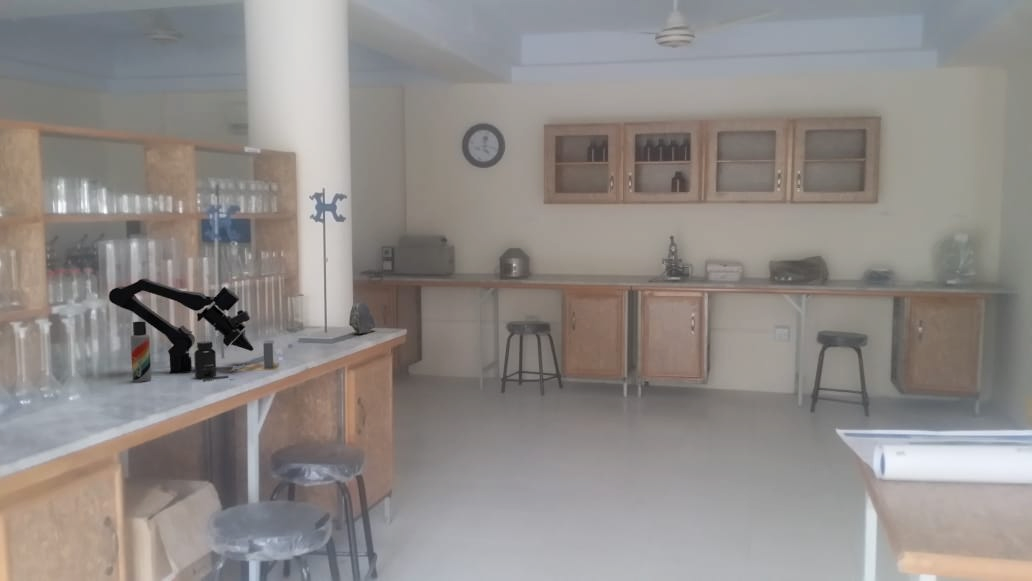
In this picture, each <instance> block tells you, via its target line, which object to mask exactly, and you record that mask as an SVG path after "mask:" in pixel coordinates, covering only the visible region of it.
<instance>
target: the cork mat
mask: <svg viewBox="0 0 1032 581" xmlns="http://www.w3.org/2000/svg"><path fill="white" fill-rule="evenodd" d="M250 364H251V365H247V366H245V367H243V368H240V369H235V370H231V369H229V372H230V373H231V372H247V371H248V372H249V371H250V372H252V371H253V372H254V371H274V370H275V371H276V370H278V368H279V365H280V362H275V365H274V367H273V368H267V369H264V363H250Z"/></svg>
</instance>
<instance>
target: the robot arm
mask: <svg viewBox="0 0 1032 581" xmlns="http://www.w3.org/2000/svg"><path fill="white" fill-rule="evenodd" d="M141 292H145V293H149V294H152V295H156V296H159V297H163V298H165V299H168V300H171V301H172V300H173V301H175V302H178V303H179V304H181V305H182V306H184V307H186V308H188V309H190V310H192V311H196V312H197V311H201V310H202V311H201V312H197V313H196V316H197V318H196V321H197V322H200V321H201V320H203V319H204V320H205V321H206V322H207V323H209V324H210V325H211V326H212V327H213V328H214V331H216V332H217V331H218V333H220V334H222V336H223V338H222V340H223V341H222V342H223V345H225V346H226V347H229V345H231V346H235V347H238V348H242V349H245V350H247V351H250V352H253V351H254V346H253V345H252V344H251V342H250V341H249V340H248V338H247V336H246V329H245V328H246V327H247V326H246V325H245V323H246V322H248V321H250V320H251V317H250V315H249V312H247V310H245V311H244V310H242V309H239V310H238V311H237V314H236V315H234V316H233V317H231V316H230V315H226V314H225V313H224V311H228V312H229V311H230V310H231V309H232V308H233V307H234V306H235V305H236V304H237V303H238V302H239V300H240V297H239V296H238V295H237V294H236V293H235V292H233V291H231V290H230V289H229V288H227V287H226V286H224V287H222V288H221V289H220V291H219V293H217V295H215V296H207V295H206V294H204V293H202V292H195V291H190V290H189V291H188V290H181V289H178V288H175V287H172V286H168V285H165V284H162V283H159V282H156V281H152V280H150V279H148V278H141V279H139V280H137V281H136V282H133V283H131V284H129V285H127V286H124V285H123V286H122V285H120V286H117V287H114V288H113V289H111V290H110V291H109V293H108V300H109V302H111V304H113V305H115V306H117V307H120V308H121V309H125V310H127V311H130V312H131V313H133V314H135V316H138V317H139V318H141V319H142V320H143V321H144V322H145V323H147V324H149V325H150V326H152V327H153V328H154V329H155V330H157V331H159V332H161V333H162V334H163V335H164V336H165V337H166V338H167V339H168V341H169V342H170V344H172V346H171V347H170V348H169V349H168V350H167V351H168V354H169V368H170V369H169V374H178V373H179V374H181V373H190V372H191V370H192V368H193V366H192V364H193V363H192V357H191V356H190V352H189V351H190V349H191V348H192V347H193V346H194V345H195V344H196V338H195V335H194V334H193V331H191V330H189V329H188V328H186V327H185V326H184V325H181V326H180V327H178V326H175V325H173V324H172V323H171V322H169V321H168V320H166V319H165V318H164V317H162V316H161V315H159V314H158V313H157V312H155V311H153V309H151V308H150V307H148V306H147V305H145V304H144V303H142V302H141V301H140V300H139V298H138V297H137V296H136V294H138V293H141ZM213 303H214V304H213ZM212 304H213V305H212ZM208 306H210V307H208Z"/></svg>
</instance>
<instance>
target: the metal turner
mask: <svg viewBox="0 0 1032 581" xmlns="http://www.w3.org/2000/svg"><path fill="white" fill-rule="evenodd" d="M222 379H229V375H216V376H214V377H207V378H202V382H203V383H205V382H206V381H208V382H214V380H222ZM231 381H235V380H234V378H233V379H231Z"/></svg>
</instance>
